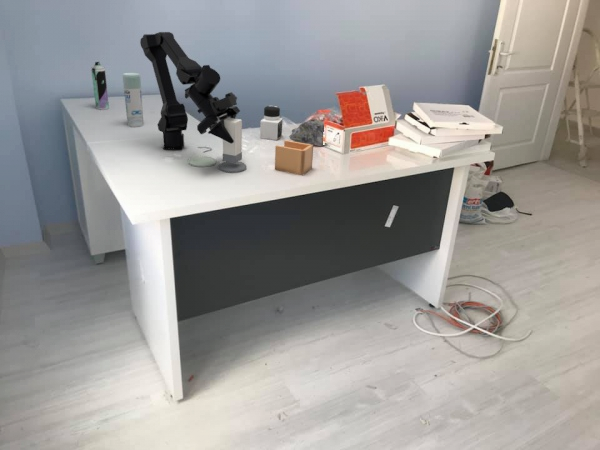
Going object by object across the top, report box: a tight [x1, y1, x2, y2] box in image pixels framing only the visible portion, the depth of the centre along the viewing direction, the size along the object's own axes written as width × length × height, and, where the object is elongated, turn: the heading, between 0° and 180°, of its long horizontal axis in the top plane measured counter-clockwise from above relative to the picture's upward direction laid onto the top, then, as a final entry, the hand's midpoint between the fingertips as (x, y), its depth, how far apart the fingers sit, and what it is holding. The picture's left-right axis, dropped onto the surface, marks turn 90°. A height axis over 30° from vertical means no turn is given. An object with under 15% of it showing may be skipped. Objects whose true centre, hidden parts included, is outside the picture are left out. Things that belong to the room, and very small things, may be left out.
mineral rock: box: [289, 117, 325, 147], centre depth 190 cm, size 13×11×10 cm
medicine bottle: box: [259, 105, 283, 141], centre depth 194 cm, size 7×7×12 cm
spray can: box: [90, 61, 110, 111], centre depth 219 cm, size 6×6×20 cm
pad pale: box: [187, 155, 217, 168], centre depth 165 cm, size 9×9×1 cm
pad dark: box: [217, 161, 247, 174], centre depth 162 cm, size 9×9×1 cm
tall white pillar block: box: [222, 118, 243, 163], centre depth 158 cm, size 5×5×13 cm
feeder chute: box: [274, 139, 314, 176], centre depth 163 cm, size 10×8×8 cm
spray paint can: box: [122, 72, 145, 128], centre depth 197 cm, size 6×6×20 cm
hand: (236, 140), depth 158 cm, fingers closed on tall white pillar block, 4 cm apart
